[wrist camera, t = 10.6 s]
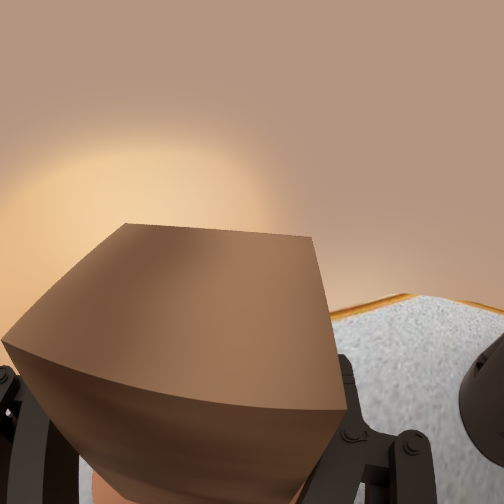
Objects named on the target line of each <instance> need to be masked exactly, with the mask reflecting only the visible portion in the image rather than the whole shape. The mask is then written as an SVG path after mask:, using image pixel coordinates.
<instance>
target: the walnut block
mask: <svg viewBox="0 0 504 504" xmlns="http://www.w3.org/2000/svg"><path fill="white" fill-rule="evenodd" d="M1 341H2V343H3V345H4V347H5V349H6V351H7V352H8V354H9V356H10V358H11V360H12V362H13V364H14V365H15V367H16V369H17V370H18V372H19V374H20V375H21V377H22V379H23V380H24V382H25V383H26V385H27V387H28V388H29V390H30V391H31V393H32V394H33V396H34V397H35V399H36V400H37V402H38V403H39V404H40V406H41V407H42V409H43V410H44V411H45V413H46V414H47V416H48V417H49V418H50V420H51V421H52V422H53V424H54V425H55V426H56V427H57V429H58V430H59V431H60V432H61V434H62V435H63V436H64V437H65V438H66V440H67V441H68V442H69V443H70V444H71V446H72V447H73V448H74V449H75V450H76V451H77V452H78V454H79V455H80V456H81V457H82V458H83V459H84V460H85V461H86V462H87V463H88V464H89V465H90V466H91V467H92V468H93V470H94V471H95V472H96V473H97V474H98V475H99V476H100V477H102V478H103V479H104V480H105V481H106V482H107V483H108V484H109V485H110V486H111V487H112V488H113V489H114V490H115V491H116V492H118V493H119V494H120V495H121V496H122V497H123V498H124V499H126V500H129V501H132V502H135V503H138V504H289V503H290V502H291V501H292V499H293V498H294V497H295V495H296V494H297V492H298V491H299V489H300V488H301V487H302V485H303V484H304V482H305V481H306V479H307V478H308V476H309V475H310V473H311V471H312V470H313V468H314V467H315V465H316V464H317V462H318V460H319V459H320V457H321V456H322V454H323V452H324V451H325V449H326V447H327V446H328V444H329V442H330V440H331V439H332V437H333V435H334V433H335V432H336V430H337V428H338V426H339V424H340V422H341V421H342V419H343V417H344V415H345V413H346V411H347V404H346V398H345V392H344V386H343V380H342V375H341V369H340V364H339V359H338V353H337V348H336V343H335V338H334V333H333V328H332V324H331V319H330V314H329V310H328V305H327V300H326V296H325V292H324V287H323V283H322V279H321V275H320V270H319V266H318V262H317V258H316V254H315V250H314V246H313V242H312V239H311V237H303V236H291V235H280V234H268V233H256V232H243V231H231V230H230V231H229V230H217V229H204V228H189V227H175V226H160V225H144V224H127V223H125V224H124V225H122V226H121V227H120V228H119V229H117V230H116V231H115V232H114V233H112V234H111V235H110V236H109V237H108V238H106V239H105V240H104V241H103V242H102V243H100V244H99V245H98V246H97V247H96V248H94V249H93V250H92V251H91V252H90V253H89V254H88V255H86V256H85V257H84V258H83V259H82V260H81V261H80V262H78V263H77V264H76V265H75V266H74V267H73V268H72V269H71V270H70V271H68V272H67V273H66V274H65V275H64V276H63V277H62V278H61V279H60V280H59V281H58V282H57V283H56V284H54V285H53V286H52V287H51V289H49V290H48V291H47V292H46V293H45V294H44V295H43V296H42V297H41V298H40V299H39V300H38V301H37V302H36V303H35V304H34V305H33V306H32V307H31V308H30V309H29V310H28V311H27V312H26V313H25V314H24V315H23V316H22V317H21V318H20V319H19V320H18V322H16V324H15V325H14V326H13V327H12V328H11V329H10V330H9V331H8V332H7V333H6V334H5V336H4V337H3V338H2V339H1Z"/></svg>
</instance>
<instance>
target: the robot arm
mask: <svg viewBox="0 0 504 504" xmlns="http://www.w3.org/2000/svg"><path fill="white" fill-rule="evenodd" d="M338 359H339V364H340V369H341V375H342V380H343V386H344V392H345V398H346V404H347V411H346V413H345V415H344V417H343V419H342V421H341V422H340V424H339V426H338V428H337V430H336V432H335V433H334V435H333V437H332V439H331V440H330V442H329V444H328V446H327V447H326V449H325V451H324V452H323V454H322V456H321V457H320V459H319V460H318V462H317V464H316V465H315V467H314V468H313V470H312V471H311V473H310V475H309V476H308V478H307V479H306V481H305V483H304V485H303V488H302V490H301V492H300V494H299V496H298V498H297V500H296V502H295V504H353V503H354V500H355V497H356V494H357V491H358V488H359V485H360V482H362V483H365V504H437V494H436V483H435V474H434V467H433V459H432V452H431V446H430V443H429V440H428V438H427V437H426V436H425V435H424V434H423V433H421V432H420V431H418V430H406V431H403V432H402V433H401V434H399V435H398V436H393V435H388V434H383V433H379V432H376V431H374V430H373V429H371V428H370V427H369V426H368V425H367V424H366V423H365V422H364V420H363V417H362V413H361V408H360V403H359V398H358V393H357V388H356V385H355V379H354V377H353V375H354V374H353V369H352V365H351V363H350V362H349V360H348V359H347V358H346V356H345V355H344V354H338ZM459 402H460V410H461V415H462V418H463V422H464V424H465V427H466V429H467V431H468V433H469V435H470V437H471V438H472V440H473V441H474V443H475V444H476V446H477V447H478V448H479V449H480V450H481V451H482V452H483V453H484V454H485V455H486V456H487V457H488V458H490V459H491V460H492V461H494V462H495V463H497V464H499V465H502V466H504V333H503V334H502V335H501V336H500V337H499V338H498V339H497V340H496V341H494V342H493V343H492V344H491V345H490V346H489V347H488V348H487V349H486V350H485V351H483V352H482V353H481V354H480V355H479V356H478V357H477V359H476V360H475V361H474V363H473V364H472V366H471V368H470V369H469V371H468V372H467V374H466V375H465V377H464V379H463V381H462V384H461V388H460V395H459ZM7 409H9V411H10V412H11V414H10V415H9V416H7V415H6V414H5V413H6V411H7ZM0 504H79V454H78V452H77V451H76V450H75V449H74V448H73V447H72V446H71V444H70V443H69V442H68V441H67V440H66V438H65V437H64V436H63V435H62V434H61V432H60V431H59V430H58V429H57V427H56V426H55V425H54V424H53V422H52V421H51V420H50V418H49V417H48V416H47V414H46V413H45V411H44V410H43V409H42V407H41V406H40V404H39V403H38V402H37V400H36V399H35V397H34V396H33V394H32V393H31V391H30V390H29V388H28V387H27V385H26V383H25V382H24V380H23V379H22V377H21V375H16V374H15V372H14V371H13V369H12V368H11V367H10V366H5V365H3V366H0Z"/></svg>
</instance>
